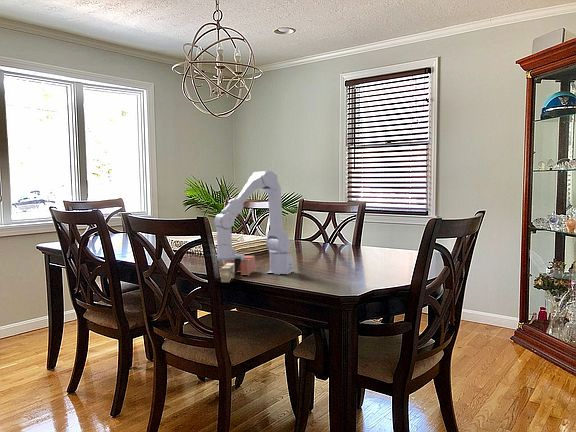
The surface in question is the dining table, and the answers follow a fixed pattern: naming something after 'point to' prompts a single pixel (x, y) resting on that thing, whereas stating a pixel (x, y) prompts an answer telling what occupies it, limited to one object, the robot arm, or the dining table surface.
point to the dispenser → (245, 264)
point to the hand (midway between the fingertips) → (225, 278)
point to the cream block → (227, 272)
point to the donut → (232, 253)
